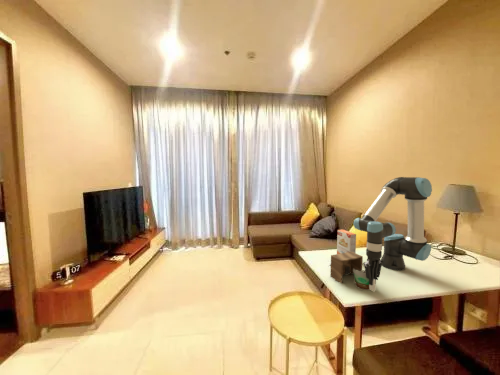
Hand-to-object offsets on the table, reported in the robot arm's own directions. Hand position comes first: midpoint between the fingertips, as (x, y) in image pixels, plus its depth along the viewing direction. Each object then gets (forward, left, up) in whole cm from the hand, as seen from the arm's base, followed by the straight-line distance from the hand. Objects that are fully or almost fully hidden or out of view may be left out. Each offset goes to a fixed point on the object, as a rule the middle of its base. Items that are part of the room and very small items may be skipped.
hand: (372, 289), depth 125 cm
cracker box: (-24, -44, -2) cm, 50 cm away
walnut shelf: (0, -20, -2) cm, 20 cm away
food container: (0, -6, -2) cm, 6 cm away
